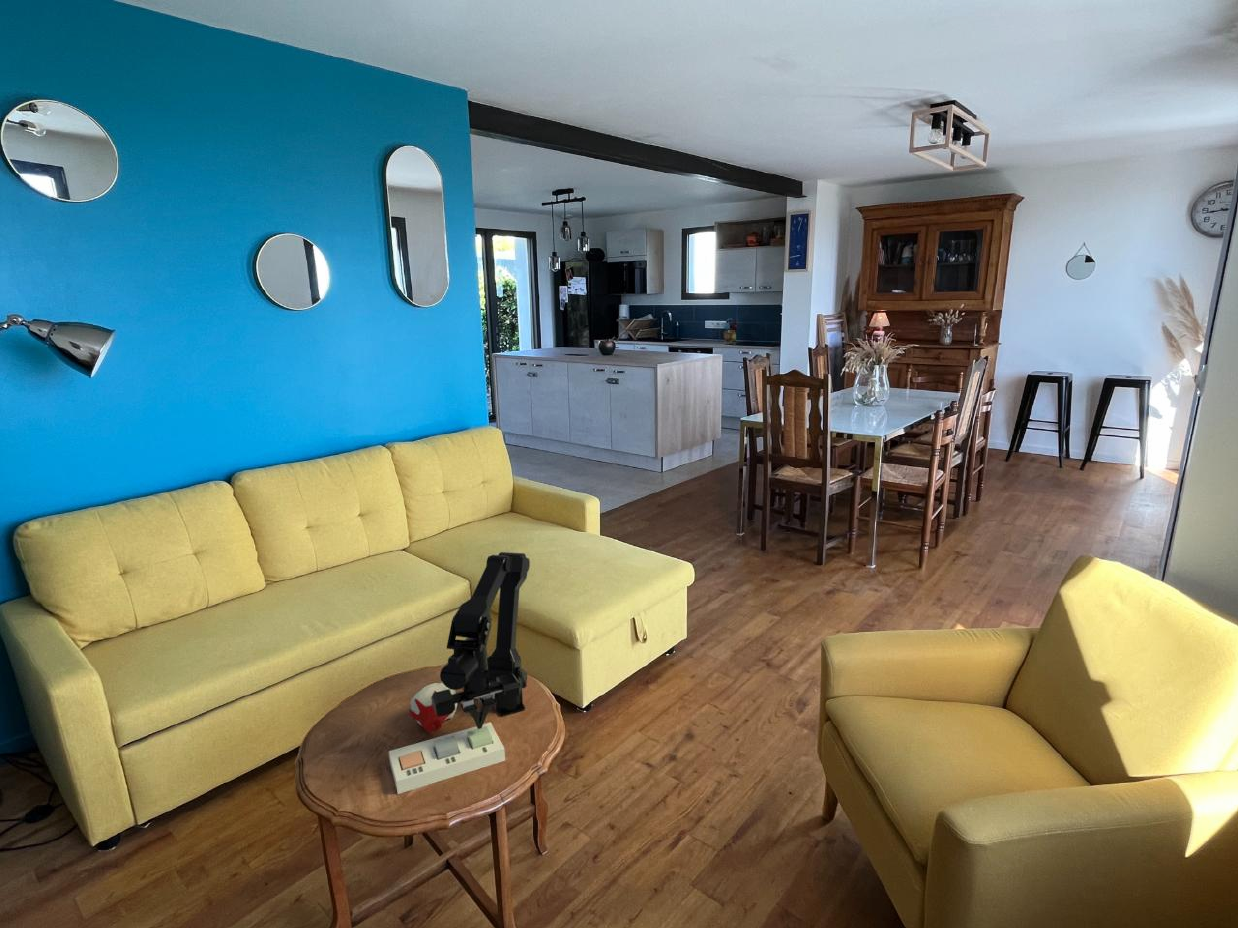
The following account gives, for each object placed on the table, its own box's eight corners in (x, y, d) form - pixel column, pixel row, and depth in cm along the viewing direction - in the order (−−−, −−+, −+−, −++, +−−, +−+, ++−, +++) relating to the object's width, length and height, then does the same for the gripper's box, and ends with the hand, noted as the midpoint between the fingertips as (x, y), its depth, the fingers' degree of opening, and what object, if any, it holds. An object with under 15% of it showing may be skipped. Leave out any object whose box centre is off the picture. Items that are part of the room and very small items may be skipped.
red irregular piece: (456, 699, 175) (461, 740, 161) (410, 706, 172) (411, 749, 158) (454, 669, 172) (458, 709, 158) (407, 676, 169) (407, 717, 155)
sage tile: (487, 734, 157) (486, 726, 157) (492, 745, 153) (491, 736, 153) (468, 740, 155) (467, 731, 155) (473, 751, 152) (472, 742, 151)
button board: (491, 733, 161) (490, 721, 161) (505, 760, 152) (504, 747, 151) (389, 763, 152) (388, 750, 151) (397, 793, 142) (396, 780, 141)
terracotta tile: (420, 758, 151) (420, 750, 151) (424, 770, 147) (423, 761, 147) (400, 765, 149) (399, 756, 149) (403, 777, 145) (402, 768, 145)
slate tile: (454, 744, 154) (453, 735, 154) (459, 755, 150) (458, 746, 150) (434, 749, 152) (433, 741, 152) (438, 761, 148) (438, 752, 148)
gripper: (504, 639, 161) (508, 698, 165) (423, 658, 153) (429, 720, 157) (519, 660, 151) (523, 723, 155) (434, 682, 143) (440, 747, 147)
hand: (479, 727), depth 154 cm, fingers closed
